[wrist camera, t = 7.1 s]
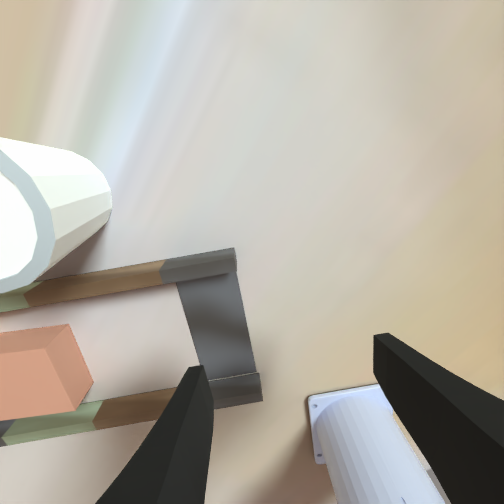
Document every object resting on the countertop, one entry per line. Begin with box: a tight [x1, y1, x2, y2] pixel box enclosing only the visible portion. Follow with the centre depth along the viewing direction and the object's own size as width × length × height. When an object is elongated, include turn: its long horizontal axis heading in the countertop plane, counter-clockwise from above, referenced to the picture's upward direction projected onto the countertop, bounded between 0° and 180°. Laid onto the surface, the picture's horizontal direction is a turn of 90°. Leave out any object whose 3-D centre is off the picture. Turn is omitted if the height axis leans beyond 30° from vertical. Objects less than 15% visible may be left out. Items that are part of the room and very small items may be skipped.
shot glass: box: [0, 137, 113, 293], centre depth 14 cm, size 7×7×7 cm
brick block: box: [0, 324, 93, 421], centre depth 20 cm, size 6×7×3 cm
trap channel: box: [0, 248, 263, 447], centre depth 20 cm, size 13×29×2 cm, turn 99°
